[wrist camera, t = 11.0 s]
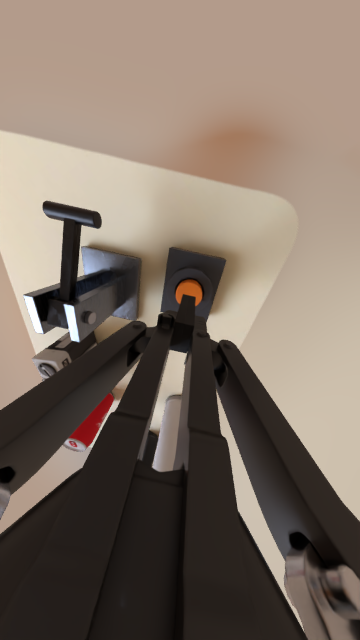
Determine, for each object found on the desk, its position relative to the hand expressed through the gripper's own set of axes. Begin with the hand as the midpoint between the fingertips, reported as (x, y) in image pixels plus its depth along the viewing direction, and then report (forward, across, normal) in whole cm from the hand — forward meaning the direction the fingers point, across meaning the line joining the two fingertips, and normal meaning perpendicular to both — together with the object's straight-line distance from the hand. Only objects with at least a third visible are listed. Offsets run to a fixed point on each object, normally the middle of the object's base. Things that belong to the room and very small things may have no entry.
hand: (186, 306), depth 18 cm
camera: (+9, -17, -20) cm, 28 cm away
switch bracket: (+9, -13, -3) cm, 16 cm away
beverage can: (+9, -17, -35) cm, 40 cm away
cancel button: (+5, 0, 0) cm, 5 cm away
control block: (+9, 0, 0) cm, 9 cm away
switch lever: (0, -13, +1) cm, 13 cm away
